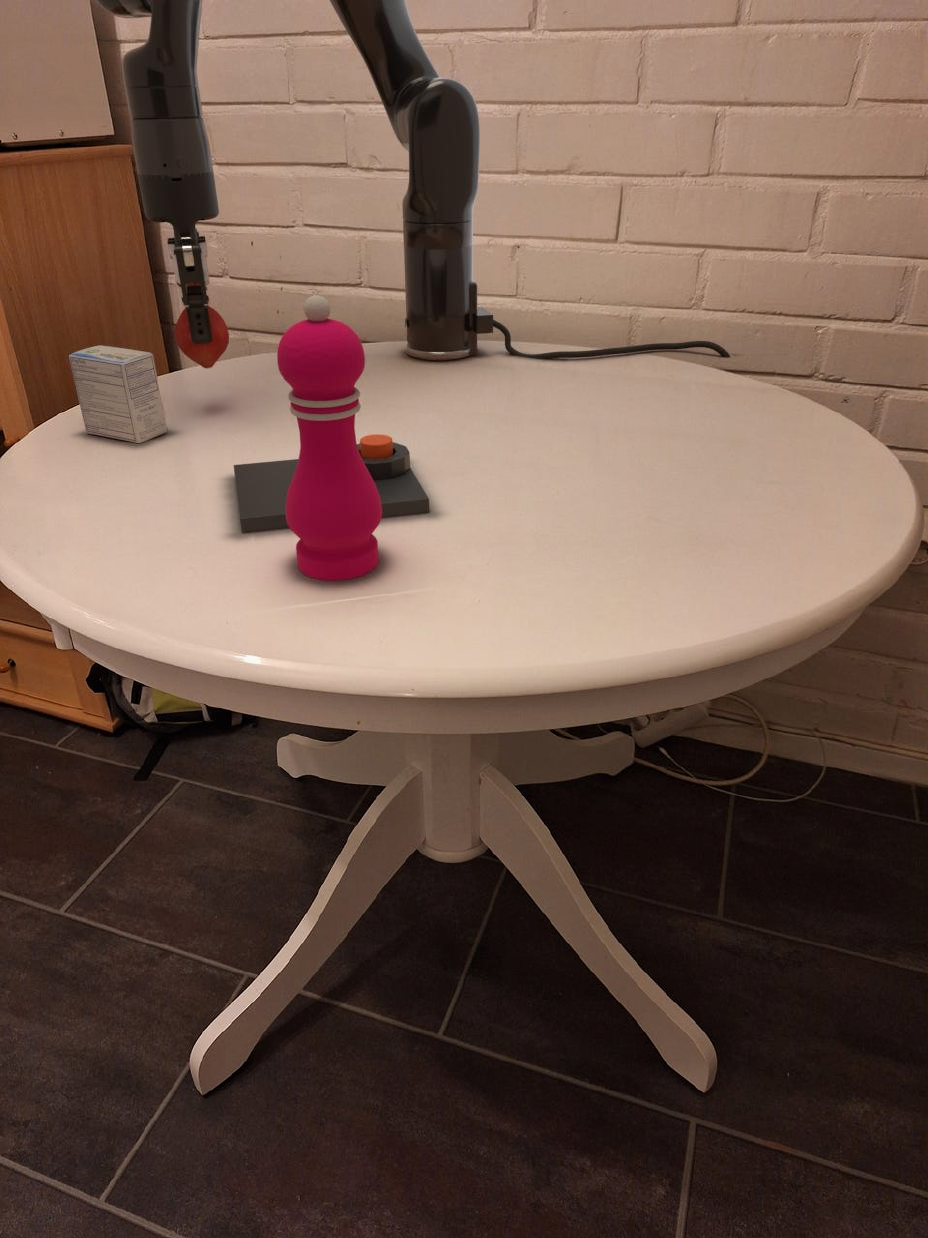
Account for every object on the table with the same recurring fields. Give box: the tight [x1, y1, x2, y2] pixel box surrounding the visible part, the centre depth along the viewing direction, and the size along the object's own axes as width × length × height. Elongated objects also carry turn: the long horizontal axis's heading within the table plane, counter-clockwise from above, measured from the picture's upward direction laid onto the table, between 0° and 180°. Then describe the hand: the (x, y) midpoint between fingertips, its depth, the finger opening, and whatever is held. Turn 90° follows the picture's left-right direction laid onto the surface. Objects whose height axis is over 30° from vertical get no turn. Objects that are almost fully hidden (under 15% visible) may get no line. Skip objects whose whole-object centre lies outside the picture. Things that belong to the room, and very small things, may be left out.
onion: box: [174, 305, 230, 369], centre depth 101 cm, size 6×6×8 cm
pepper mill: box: [276, 294, 383, 582], centre depth 66 cm, size 7×7×20 cm
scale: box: [233, 441, 430, 534], centre depth 82 cm, size 16×13×3 cm
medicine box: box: [68, 344, 168, 444], centre depth 96 cm, size 8×4×9 cm, turn 62°
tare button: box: [359, 433, 394, 459], centre depth 84 cm, size 3×3×2 cm
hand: (201, 335), depth 101 cm, fingers closed on onion, 6 cm apart
